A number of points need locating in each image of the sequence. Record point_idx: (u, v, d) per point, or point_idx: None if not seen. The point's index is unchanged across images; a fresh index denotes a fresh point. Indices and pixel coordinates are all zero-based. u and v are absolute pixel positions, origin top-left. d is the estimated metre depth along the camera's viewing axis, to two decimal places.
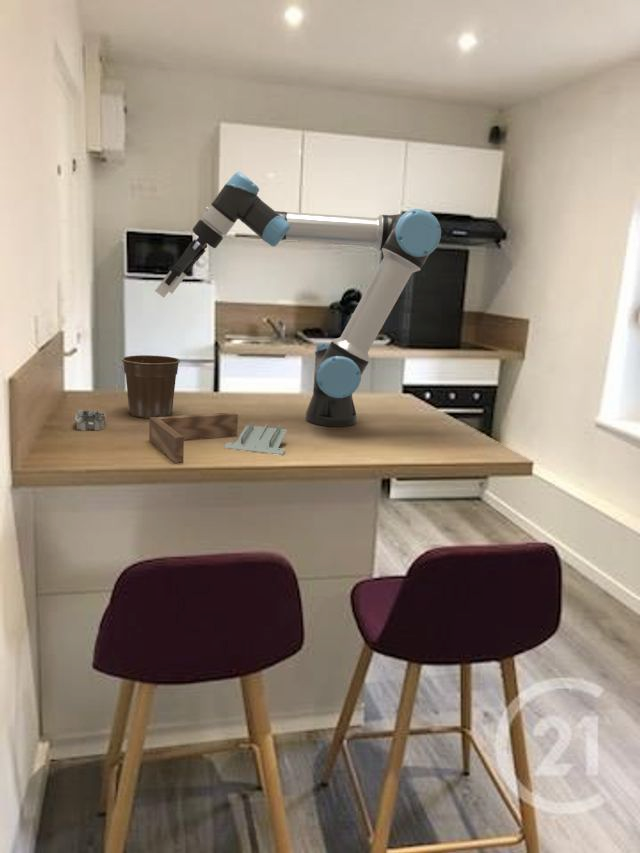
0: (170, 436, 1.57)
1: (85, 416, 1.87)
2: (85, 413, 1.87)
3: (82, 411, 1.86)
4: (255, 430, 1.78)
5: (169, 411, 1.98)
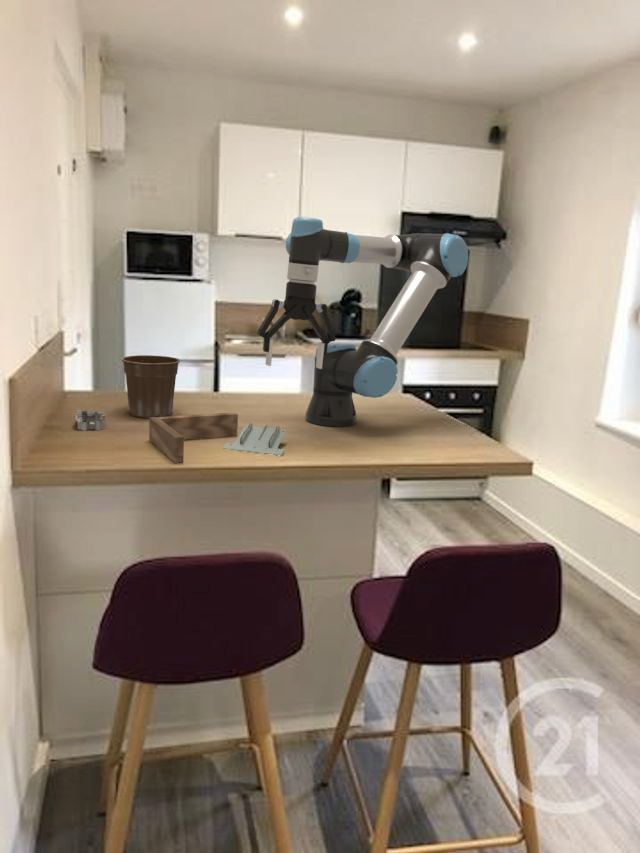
0: (170, 436, 1.57)
1: (84, 416, 1.87)
2: (84, 413, 1.86)
3: (81, 411, 1.86)
4: (254, 430, 1.77)
5: (169, 411, 1.98)
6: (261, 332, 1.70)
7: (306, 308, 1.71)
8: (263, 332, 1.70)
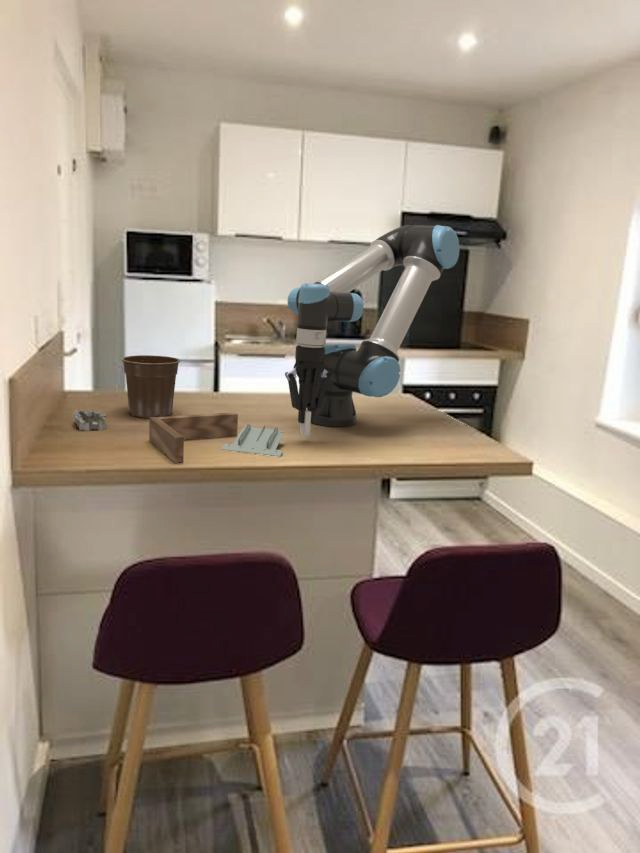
0: (170, 436, 1.57)
1: (80, 417, 1.86)
2: (80, 413, 1.86)
3: (78, 412, 1.85)
4: (252, 431, 1.76)
5: (169, 411, 1.98)
6: (297, 406, 1.76)
7: (317, 370, 1.76)
8: (298, 405, 1.76)
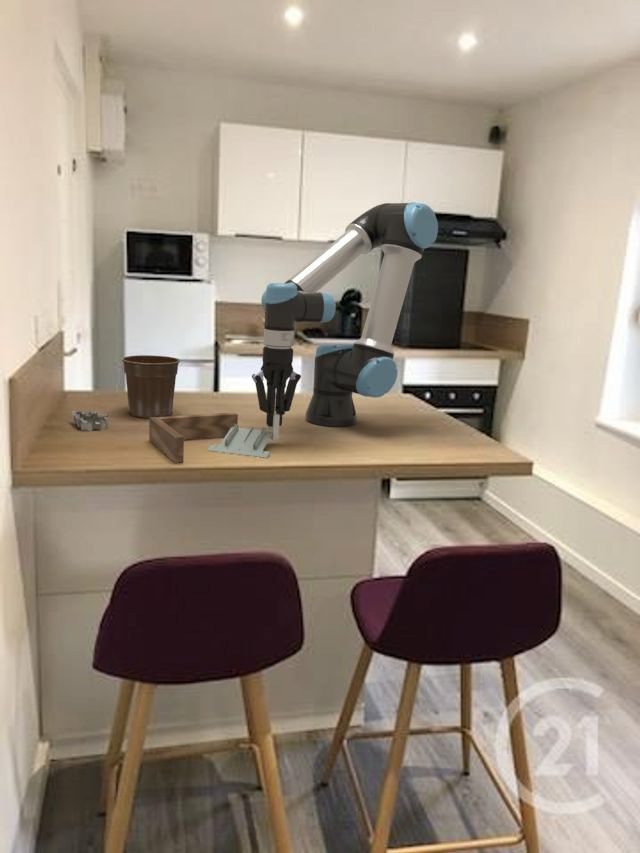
0: (170, 436, 1.57)
1: None
2: (78, 414, 1.85)
3: (75, 412, 1.84)
4: (240, 432, 1.74)
5: (169, 411, 1.98)
6: (265, 409, 1.72)
7: (285, 372, 1.71)
8: (266, 408, 1.72)
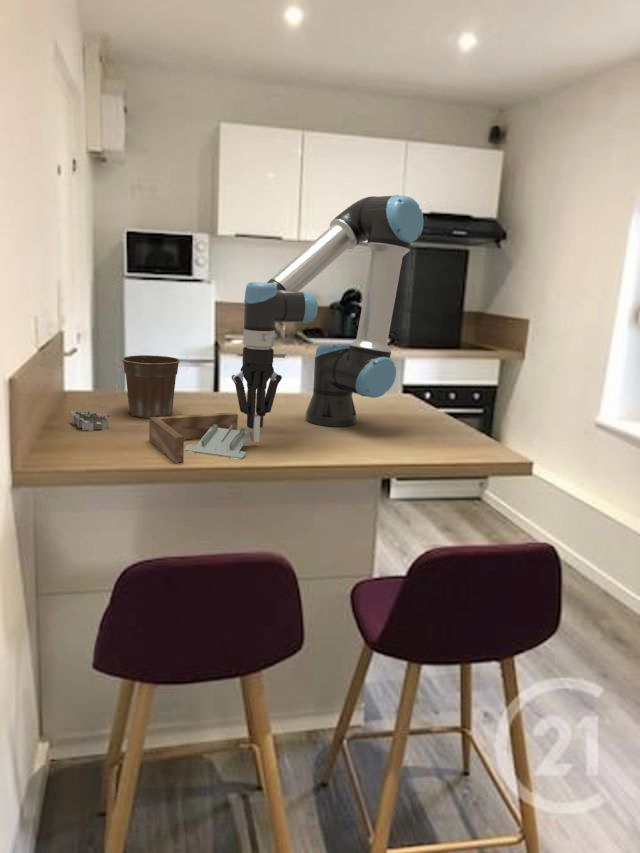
0: (170, 436, 1.57)
1: None
2: None
3: (74, 412, 1.84)
4: (219, 432, 1.73)
5: (169, 411, 1.98)
6: (245, 411, 1.69)
7: (265, 373, 1.68)
8: (246, 409, 1.69)
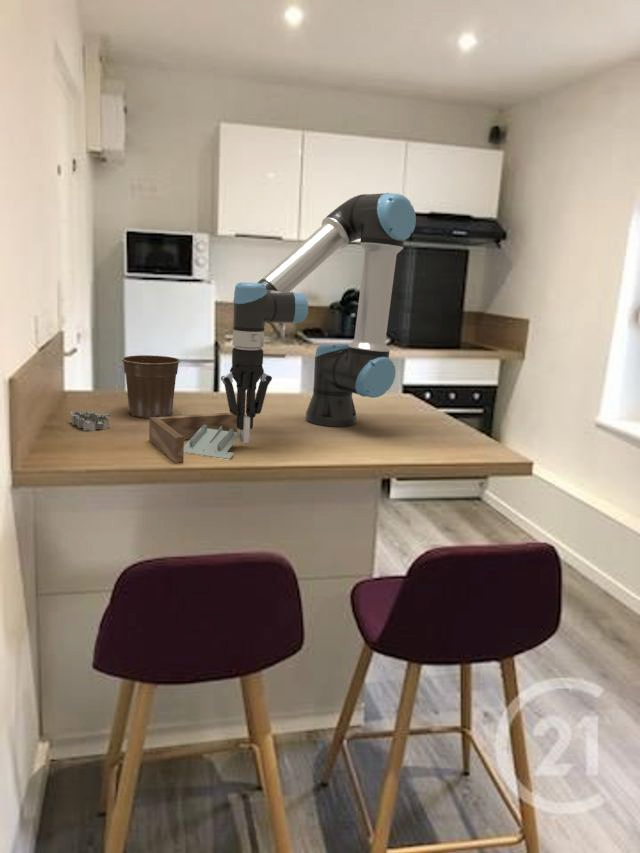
0: (170, 436, 1.57)
1: None
2: None
3: (73, 413, 1.83)
4: (208, 433, 1.72)
5: (169, 411, 1.98)
6: (235, 412, 1.68)
7: (255, 374, 1.67)
8: (236, 410, 1.68)
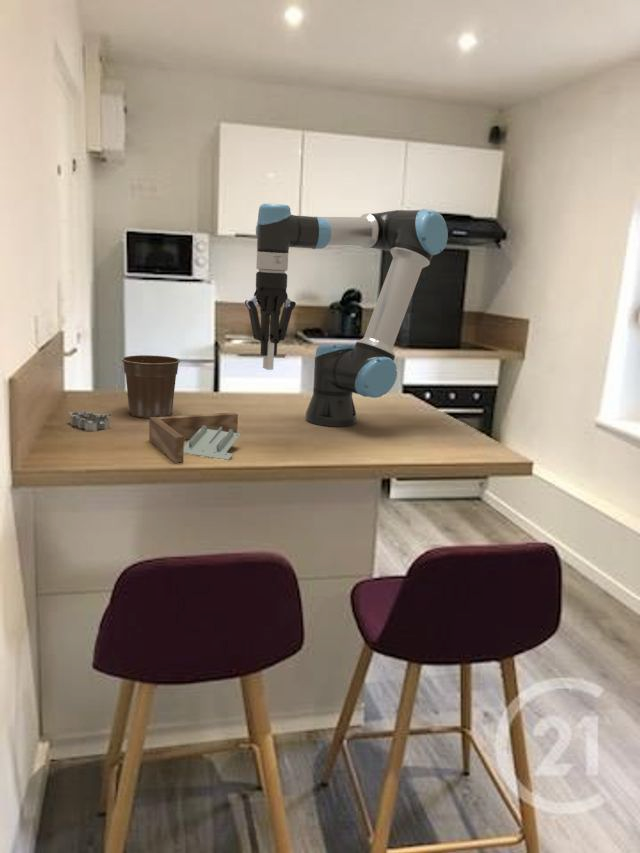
0: (170, 436, 1.57)
1: None
2: (74, 415, 1.84)
3: (71, 413, 1.83)
4: (208, 433, 1.71)
5: (169, 411, 1.98)
6: (259, 337, 1.66)
7: (279, 298, 1.65)
8: (260, 335, 1.66)
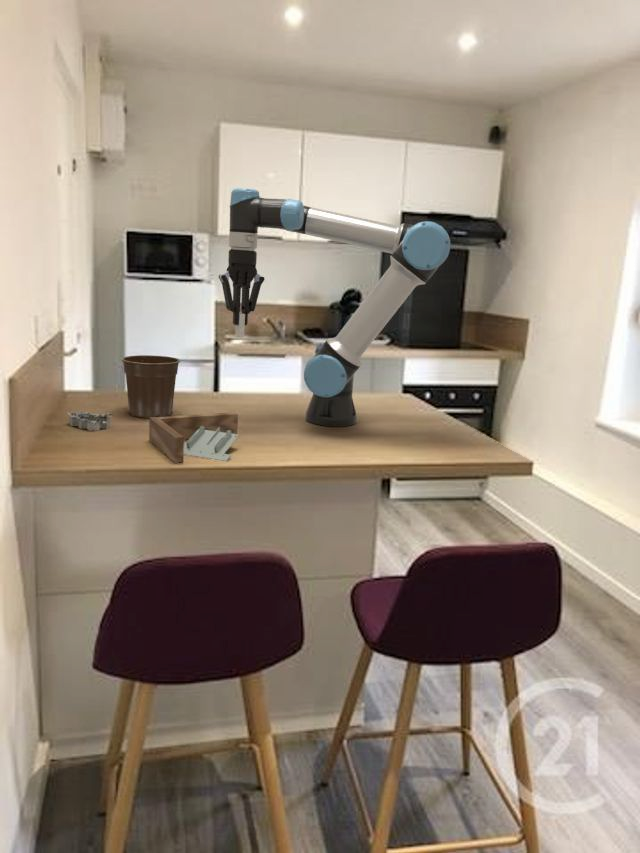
0: (170, 436, 1.57)
1: None
2: (71, 416, 1.83)
3: (70, 414, 1.82)
4: (206, 434, 1.70)
5: (169, 411, 1.98)
6: (231, 307, 1.86)
7: (249, 273, 1.86)
8: (232, 306, 1.86)
